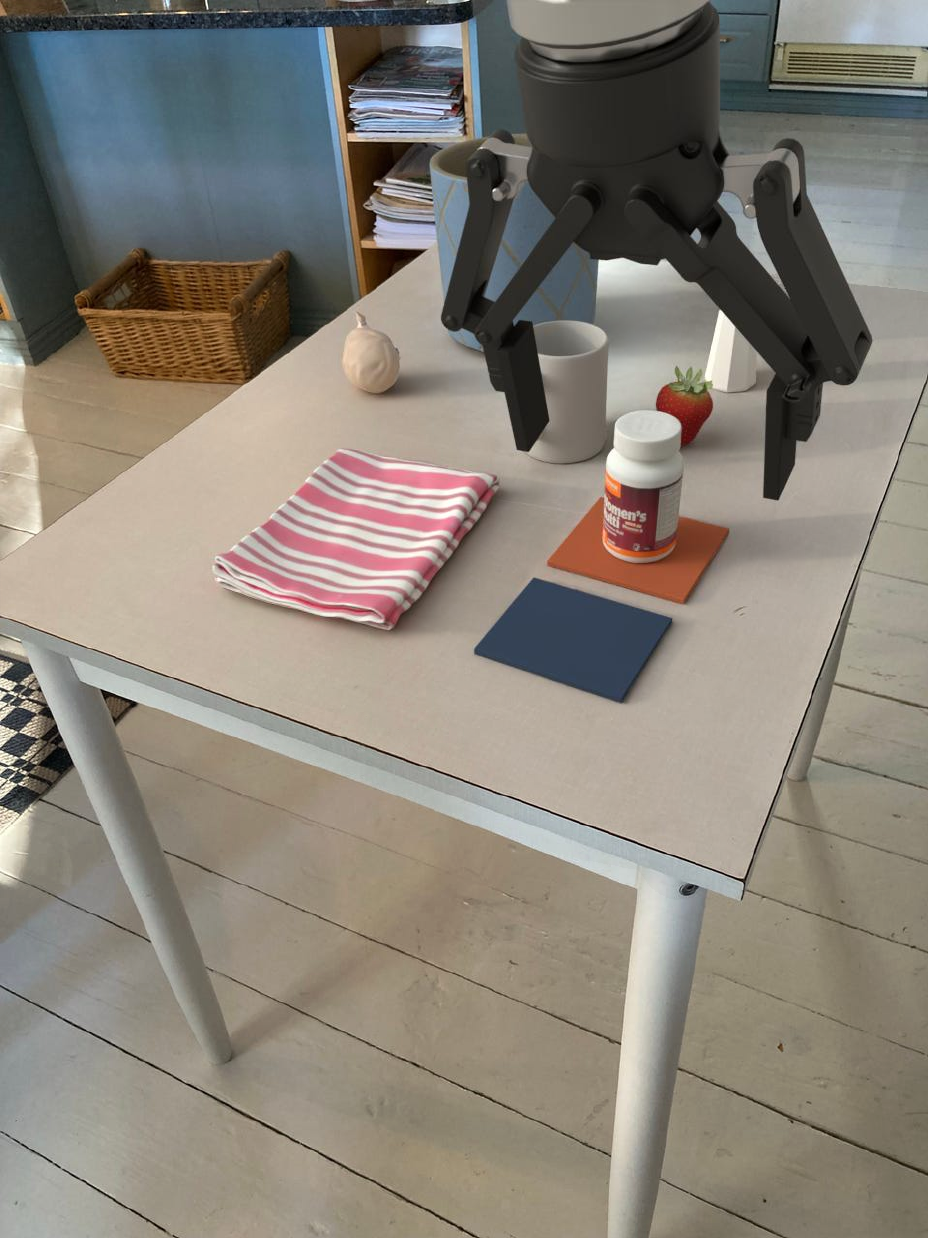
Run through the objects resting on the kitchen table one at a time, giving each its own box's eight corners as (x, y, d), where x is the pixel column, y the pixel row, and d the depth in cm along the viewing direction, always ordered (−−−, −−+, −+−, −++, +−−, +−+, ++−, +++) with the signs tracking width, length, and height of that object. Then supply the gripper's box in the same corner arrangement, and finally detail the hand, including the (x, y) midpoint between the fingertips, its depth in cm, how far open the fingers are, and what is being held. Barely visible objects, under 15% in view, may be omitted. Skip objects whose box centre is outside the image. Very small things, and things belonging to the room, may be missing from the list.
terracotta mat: (728, 533, 86) (729, 528, 85) (683, 604, 79) (684, 599, 78) (600, 501, 91) (600, 496, 90) (546, 565, 84) (547, 560, 83)
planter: (417, 321, 125) (402, 151, 112) (551, 290, 130) (551, 124, 118) (483, 379, 111) (475, 193, 98) (630, 341, 117) (639, 160, 104)
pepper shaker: (766, 385, 106) (781, 283, 99) (725, 397, 105) (737, 295, 98) (734, 366, 110) (746, 267, 103) (693, 378, 108) (703, 278, 102)
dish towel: (210, 596, 83) (200, 562, 81) (347, 460, 99) (342, 428, 97) (391, 643, 77) (386, 608, 75) (505, 490, 93) (504, 457, 91)
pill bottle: (588, 549, 84) (591, 430, 77) (627, 516, 88) (634, 399, 80) (651, 574, 81) (661, 452, 74) (689, 539, 84) (702, 419, 77)
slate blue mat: (672, 622, 77) (672, 617, 77) (621, 703, 70) (621, 698, 70) (533, 581, 82) (533, 576, 82) (473, 653, 75) (473, 648, 75)
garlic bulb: (407, 375, 113) (400, 307, 108) (399, 401, 108) (391, 331, 103) (350, 375, 114) (341, 307, 109) (339, 401, 109) (329, 332, 104)
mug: (550, 414, 104) (550, 312, 97) (621, 435, 100) (626, 331, 93) (481, 464, 97) (476, 358, 90) (554, 489, 93) (554, 380, 86)
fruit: (707, 460, 95) (716, 383, 90) (651, 457, 96) (656, 380, 91) (708, 433, 99) (717, 358, 94) (654, 431, 100) (659, 356, 95)
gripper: (288, 64, 40) (414, 461, 56) (961, 65, 29) (879, 559, 45) (382, -15, 44) (475, 379, 59) (1010, -40, 33) (919, 451, 48)
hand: (649, 457), depth 52 cm, fingers open, 13 cm apart
